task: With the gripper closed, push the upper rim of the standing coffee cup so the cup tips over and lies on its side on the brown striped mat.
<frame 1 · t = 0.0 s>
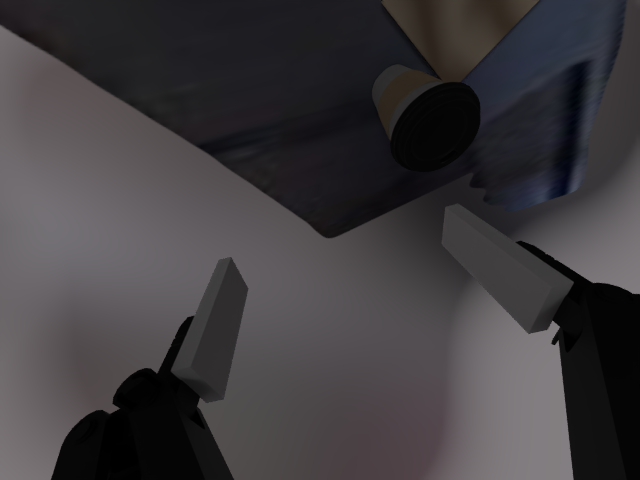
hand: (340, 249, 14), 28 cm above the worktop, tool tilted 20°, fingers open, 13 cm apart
coffee cup: (390, 87, 34), on the worktop
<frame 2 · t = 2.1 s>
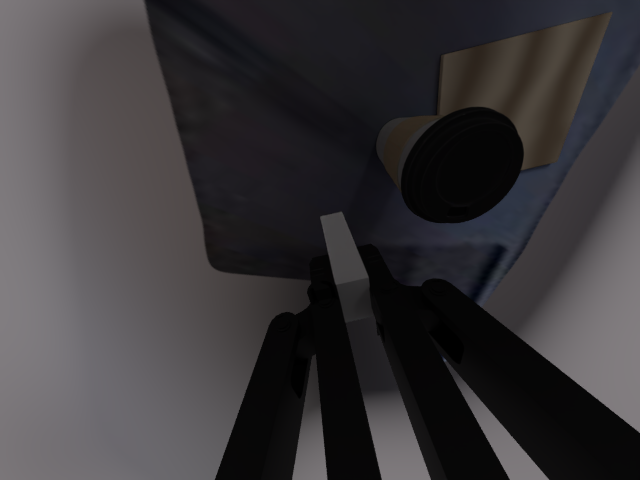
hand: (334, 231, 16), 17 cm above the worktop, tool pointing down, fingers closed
brown striped mat: (504, 115, 30), on the worktop
coffee cup: (397, 141, 30), on the worktop
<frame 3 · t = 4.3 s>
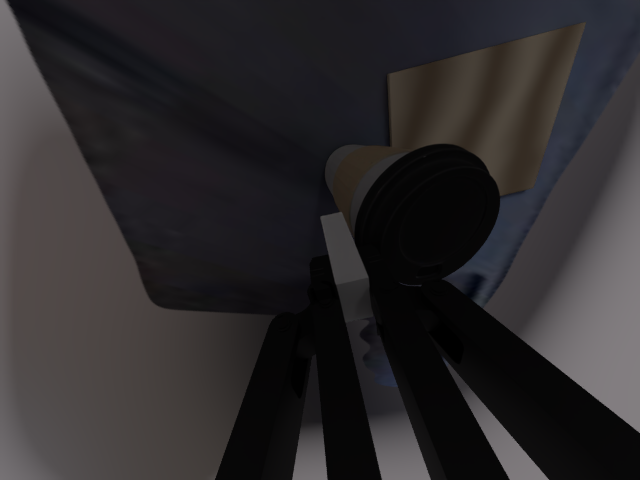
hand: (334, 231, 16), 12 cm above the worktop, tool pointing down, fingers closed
brown striped mat: (469, 139, 26), on the worktop
coffee cup: (348, 170, 26), on the worktop
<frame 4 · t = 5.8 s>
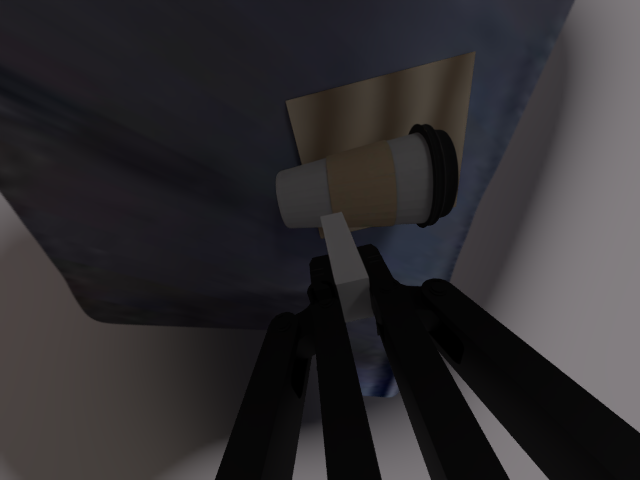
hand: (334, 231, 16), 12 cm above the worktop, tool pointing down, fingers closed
brown striped mat: (382, 160, 26), on the worktop
coffee cup: (283, 199, 24), point 4 cm above the worktop, touching brown striped mat
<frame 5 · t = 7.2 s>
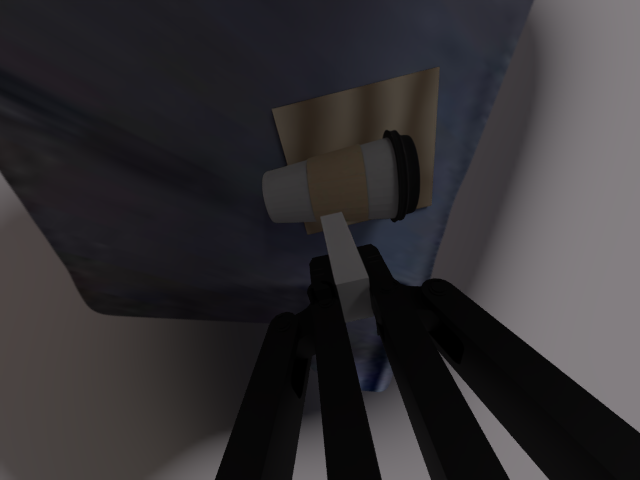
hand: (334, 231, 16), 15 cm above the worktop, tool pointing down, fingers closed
brown striped mat: (361, 163, 29), on the worktop
coffee cup: (270, 197, 26), point 4 cm above the worktop, touching brown striped mat
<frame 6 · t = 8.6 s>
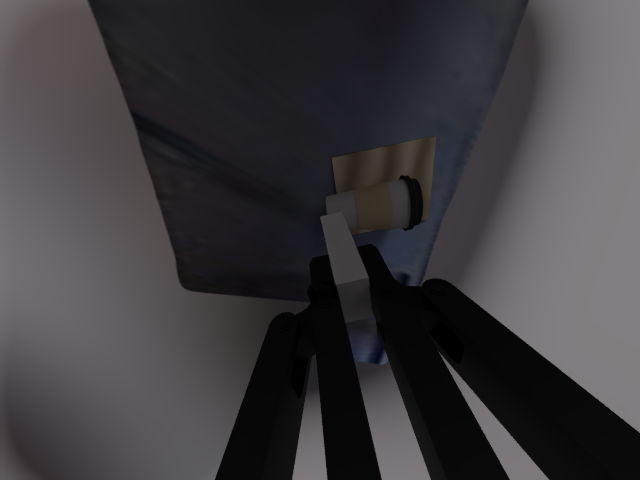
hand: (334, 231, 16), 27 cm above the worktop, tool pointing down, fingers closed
brown striped mat: (383, 190, 44), on the worktop
coffee cup: (326, 212, 41), point 4 cm above the worktop, touching brown striped mat
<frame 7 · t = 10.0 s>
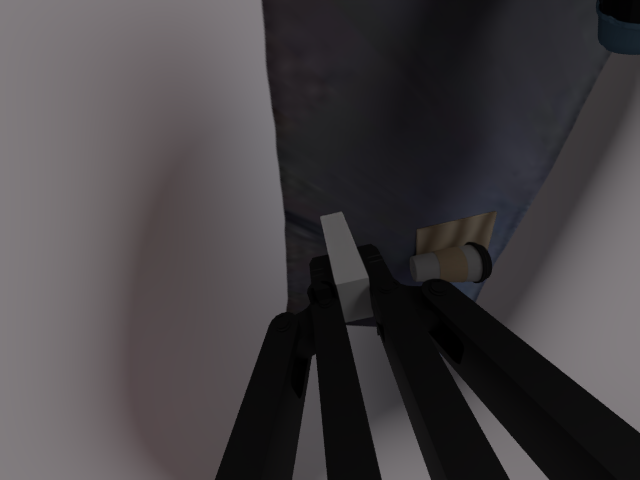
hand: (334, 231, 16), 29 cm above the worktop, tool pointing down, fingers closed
brown striped mat: (451, 247, 57), on the worktop
coffee cup: (412, 268, 54), point 4 cm above the worktop, touching brown striped mat
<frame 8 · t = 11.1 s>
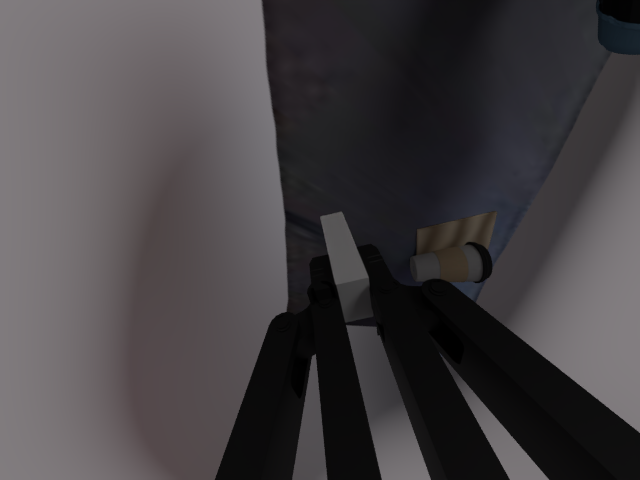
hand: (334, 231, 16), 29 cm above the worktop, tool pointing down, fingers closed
brown striped mat: (452, 247, 57), on the worktop
coffee cup: (412, 268, 54), point 4 cm above the worktop, touching brown striped mat
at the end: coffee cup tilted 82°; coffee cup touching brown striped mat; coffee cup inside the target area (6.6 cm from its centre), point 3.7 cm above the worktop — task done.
